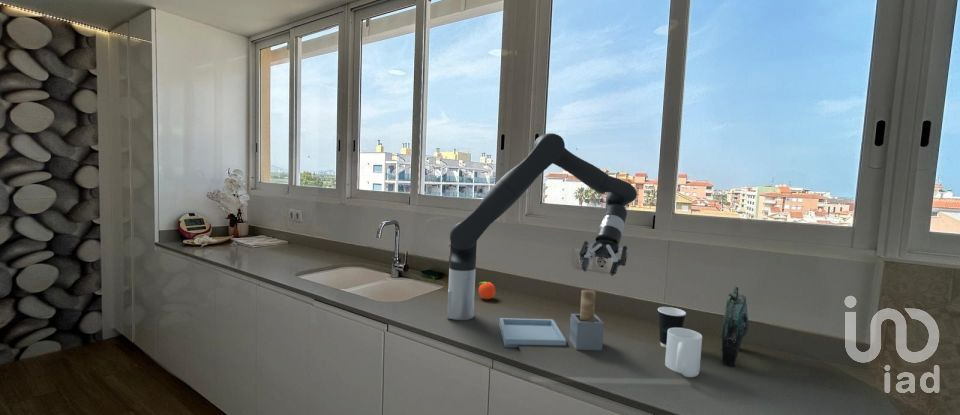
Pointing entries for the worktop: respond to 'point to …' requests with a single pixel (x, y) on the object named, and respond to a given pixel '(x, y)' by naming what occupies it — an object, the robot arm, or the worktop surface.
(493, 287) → the clementine
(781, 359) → the worktop surface
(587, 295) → the pin
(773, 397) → the worktop surface
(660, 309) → the dixie cup
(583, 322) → the light blue hollow box
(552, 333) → the tray
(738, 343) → the dark green tall piece
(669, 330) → the mug
